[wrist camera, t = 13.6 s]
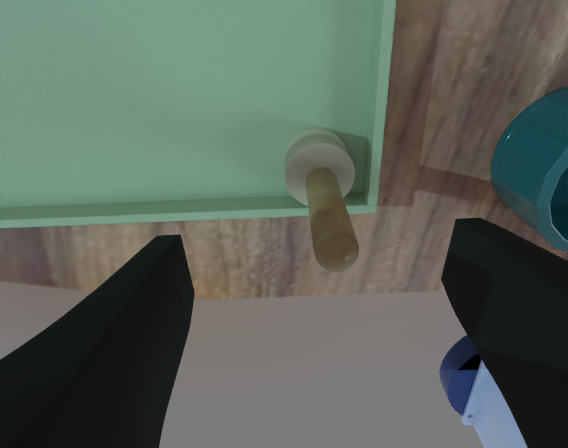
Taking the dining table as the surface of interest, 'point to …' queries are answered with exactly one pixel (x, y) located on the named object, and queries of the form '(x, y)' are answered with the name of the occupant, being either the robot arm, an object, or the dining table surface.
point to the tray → (183, 105)
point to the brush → (324, 193)
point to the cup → (537, 167)
